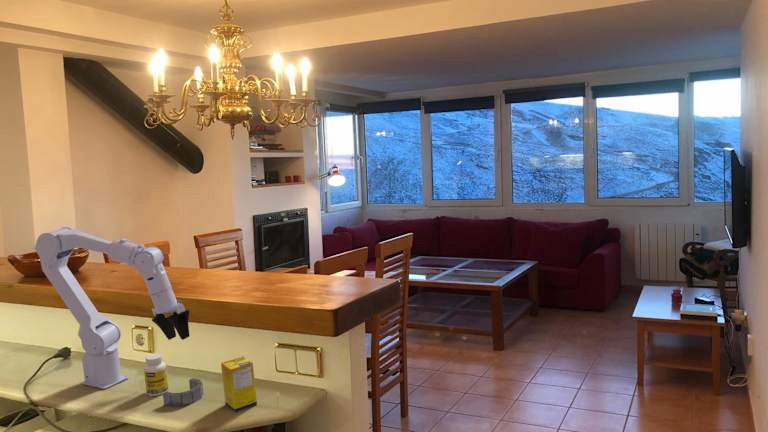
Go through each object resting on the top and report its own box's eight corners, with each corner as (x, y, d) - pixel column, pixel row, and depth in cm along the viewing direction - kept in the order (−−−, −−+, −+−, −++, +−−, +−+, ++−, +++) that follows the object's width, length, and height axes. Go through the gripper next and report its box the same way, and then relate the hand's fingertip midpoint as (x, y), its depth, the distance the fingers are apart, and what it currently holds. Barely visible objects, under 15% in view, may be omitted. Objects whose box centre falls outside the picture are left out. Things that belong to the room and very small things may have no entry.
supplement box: (247, 397, 157) (243, 355, 156) (257, 404, 153) (253, 362, 151) (224, 404, 154) (220, 362, 152) (234, 412, 149) (230, 369, 148)
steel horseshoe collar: (164, 404, 156) (162, 393, 155) (193, 389, 164) (192, 378, 164) (182, 409, 153) (180, 397, 152) (211, 392, 161) (210, 381, 161)
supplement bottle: (145, 398, 160) (141, 361, 159) (147, 389, 165) (143, 354, 164) (168, 394, 162) (163, 358, 160) (169, 386, 167) (165, 351, 165)
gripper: (186, 283, 164) (205, 331, 166) (161, 287, 175) (179, 331, 176) (163, 294, 159) (181, 343, 161) (138, 297, 170) (156, 343, 171)
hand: (178, 338), depth 168 cm, fingers open, 7 cm apart
